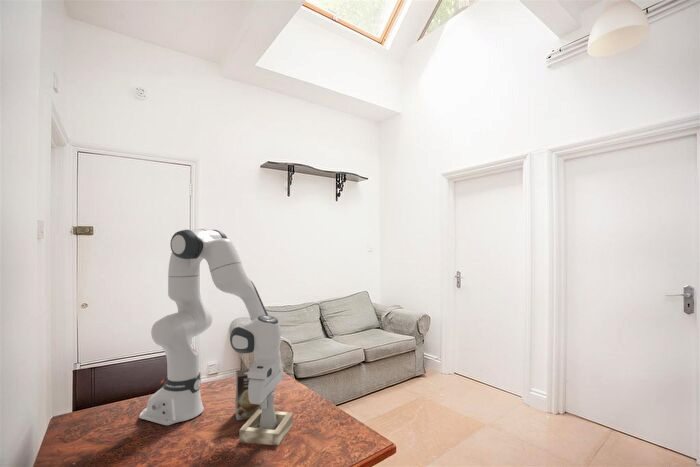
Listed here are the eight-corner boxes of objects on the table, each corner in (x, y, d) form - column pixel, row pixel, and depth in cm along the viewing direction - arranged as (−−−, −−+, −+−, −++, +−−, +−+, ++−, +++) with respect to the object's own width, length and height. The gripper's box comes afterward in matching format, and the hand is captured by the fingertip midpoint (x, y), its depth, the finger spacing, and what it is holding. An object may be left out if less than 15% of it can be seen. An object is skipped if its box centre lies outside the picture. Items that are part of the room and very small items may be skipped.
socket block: (239, 442, 112) (239, 429, 112) (257, 420, 125) (257, 409, 126) (278, 446, 110) (278, 434, 110) (293, 424, 123) (293, 412, 123)
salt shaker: (272, 436, 114) (272, 397, 114) (256, 434, 115) (256, 395, 115) (279, 426, 120) (279, 389, 120) (263, 425, 121) (264, 388, 121)
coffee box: (236, 421, 125) (236, 376, 125) (235, 412, 131) (235, 370, 131) (262, 416, 128) (262, 373, 129) (259, 408, 134) (260, 367, 134)
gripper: (271, 353, 129) (270, 390, 129) (244, 375, 109) (244, 419, 108) (287, 354, 127) (286, 391, 127) (263, 376, 107) (263, 421, 107)
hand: (267, 404), depth 118 cm, fingers closed on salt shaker, 3 cm apart
